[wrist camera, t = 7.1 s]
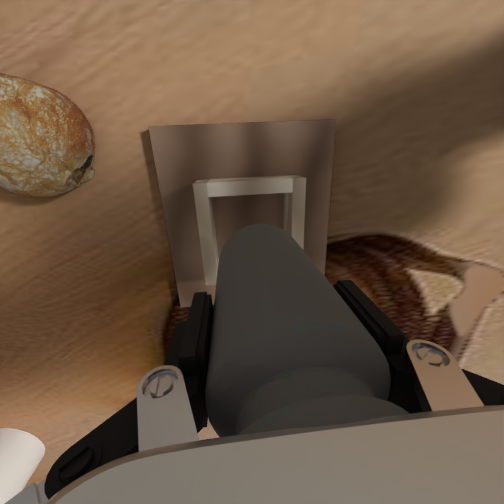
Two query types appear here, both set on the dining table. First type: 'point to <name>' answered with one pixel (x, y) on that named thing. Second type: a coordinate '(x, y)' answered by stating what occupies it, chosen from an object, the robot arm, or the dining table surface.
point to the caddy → (241, 189)
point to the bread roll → (42, 140)
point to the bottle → (287, 343)
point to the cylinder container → (17, 460)
